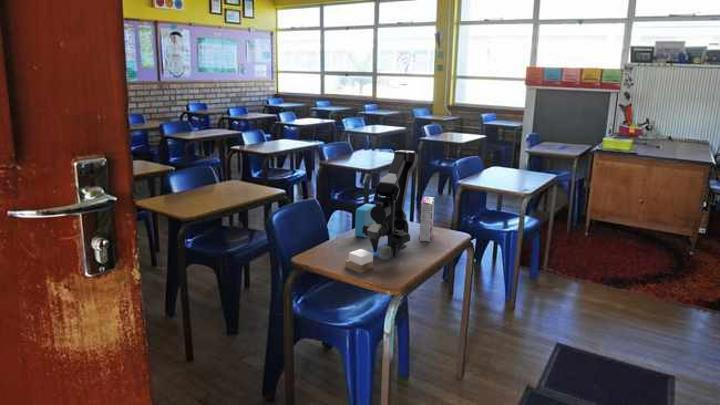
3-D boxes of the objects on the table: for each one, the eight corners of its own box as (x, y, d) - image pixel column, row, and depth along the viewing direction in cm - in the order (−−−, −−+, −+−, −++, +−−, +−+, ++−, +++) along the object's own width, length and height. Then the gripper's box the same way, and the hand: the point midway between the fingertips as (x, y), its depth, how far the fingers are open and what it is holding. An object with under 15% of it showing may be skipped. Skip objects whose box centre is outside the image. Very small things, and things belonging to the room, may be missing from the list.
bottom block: (358, 263, 193) (358, 255, 193) (373, 268, 189) (373, 260, 188) (345, 268, 188) (345, 260, 187) (360, 274, 184) (360, 266, 183)
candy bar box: (420, 233, 229) (423, 196, 225) (432, 234, 228) (435, 197, 224) (418, 241, 218) (420, 202, 214) (430, 242, 217) (433, 203, 213)
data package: (366, 229, 232) (367, 202, 229) (375, 230, 230) (376, 204, 227) (354, 237, 221) (355, 209, 218) (364, 238, 219) (365, 210, 216)
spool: (383, 254, 202) (384, 245, 201) (392, 258, 199) (393, 247, 198) (376, 257, 198) (376, 247, 197) (385, 260, 196) (386, 250, 195)
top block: (360, 256, 192) (360, 248, 191) (372, 261, 188) (373, 253, 187) (348, 260, 188) (349, 252, 187) (361, 265, 184) (361, 257, 183)
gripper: (352, 213, 194) (351, 254, 198) (393, 225, 183) (391, 267, 187) (372, 208, 203) (371, 247, 207) (412, 218, 191) (409, 259, 195)
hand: (384, 255), depth 198 cm, fingers open, 9 cm apart
